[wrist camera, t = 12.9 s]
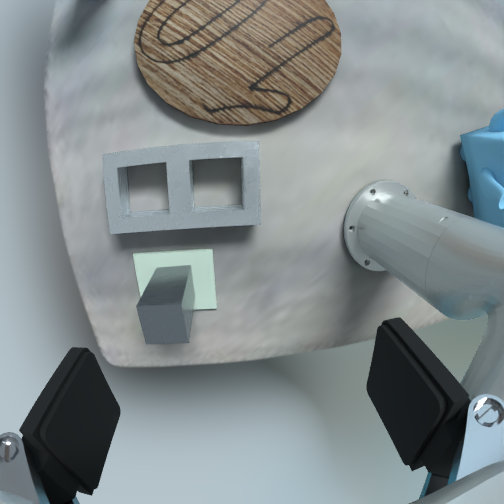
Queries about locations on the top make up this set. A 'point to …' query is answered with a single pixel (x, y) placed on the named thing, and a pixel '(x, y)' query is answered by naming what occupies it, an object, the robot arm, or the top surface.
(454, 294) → the robot arm
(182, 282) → the zinc peg
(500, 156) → the teakettle
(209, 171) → the top surface
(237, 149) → the grey cinder block
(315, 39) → the trivet
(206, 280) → the sage pad
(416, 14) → the top surface
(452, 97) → the top surface
